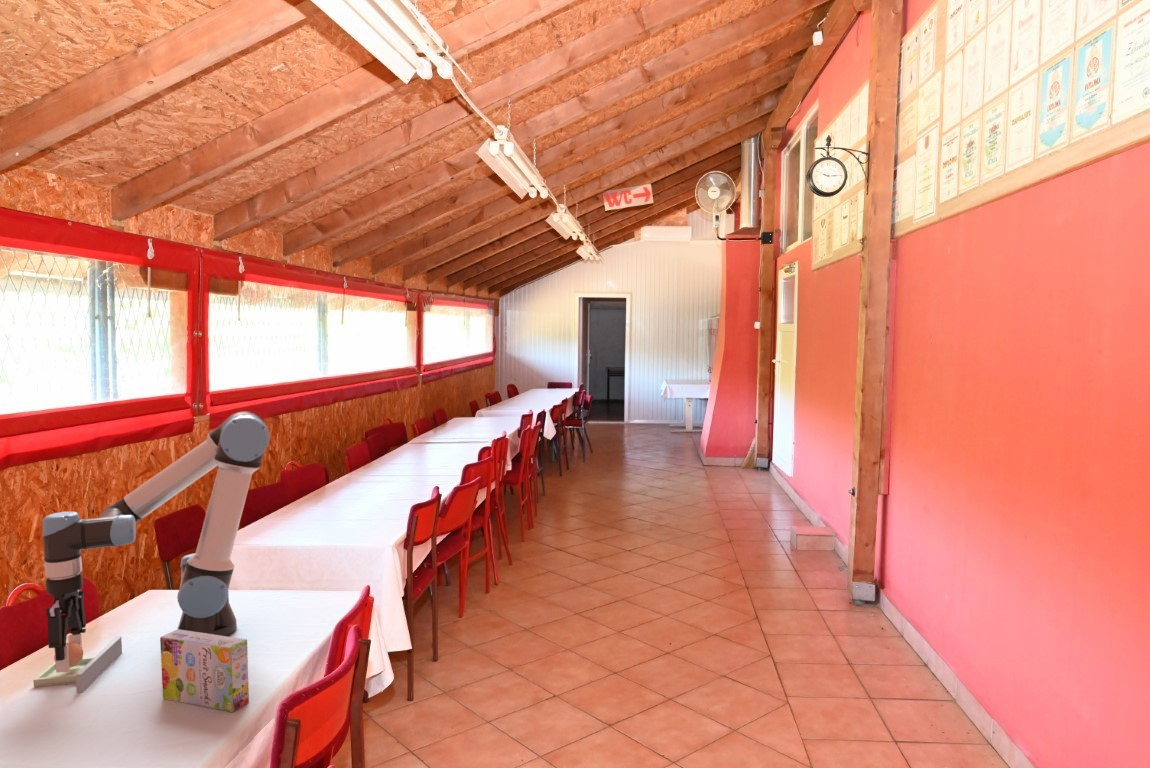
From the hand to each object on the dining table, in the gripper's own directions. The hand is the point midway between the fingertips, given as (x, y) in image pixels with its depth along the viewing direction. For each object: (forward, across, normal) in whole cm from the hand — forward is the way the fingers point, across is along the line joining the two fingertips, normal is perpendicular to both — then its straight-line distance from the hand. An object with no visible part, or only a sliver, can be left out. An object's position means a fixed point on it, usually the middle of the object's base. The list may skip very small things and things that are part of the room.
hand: (69, 665), depth 184 cm
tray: (+2, 0, 0) cm, 2 cm away
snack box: (+3, +21, +38) cm, 43 cm away
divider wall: (+2, 0, +7) cm, 7 cm away
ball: (-3, 0, 0) cm, 3 cm away
